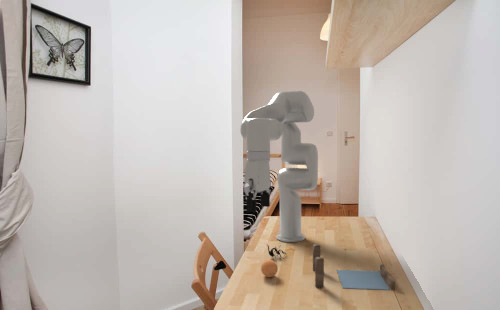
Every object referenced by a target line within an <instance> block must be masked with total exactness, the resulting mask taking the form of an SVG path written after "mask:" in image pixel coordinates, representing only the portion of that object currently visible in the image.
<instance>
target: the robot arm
mask: <svg viewBox="0 0 500 310" xmlns="http://www.w3.org/2000/svg"><path fill="white" fill-rule="evenodd" d="M314 116H315V108H314V105H313V102H312V101H311V98H310V96H309V95H308V94H307V93H306V92H305V91H302V90H294V91H280V92H277V93H275V95H273V96H272V99H271V100H270V101H269V102H268V104H266V105H263V106H261V107H258V108H256V109H254V110H252V111H250V112H249V113H247V115H246V116H245V117H244V118H243V120H242V122H241V124H240V134H241V137H242V138H243V139H244V140H246V163H245V171H244V185H243V191H244V197H245V200H246V212H248V213H256V212H257V199H256V198H257V194H258V193H260V206H261V207H267V208H269V207H270V206H271V201H270V199H271V198H270V197H271V196H270V195H271V189H272V187H271V186H272V179H271V169H270V162H271V142H272V141H276V140H279V139H280V138H281V144H280V145H281V149H280V153H281V155H280V157H281V162H282V163H283V164H285V165H290V166H291V165H292V166H294V165H295V166H305V167H284V168H281V169H280V170H278V171H277V175H276V177H277V178H276V179H277V185H278V192H279V232H278V233H277V234H276V239H277V240H279V241H280V242H284V243H299V242H302V241H304V240H305V238H306V237H305V235H304V234H303V233H302V198H301V195H300V194H299V193H298V191H314V190H315V189H316V188H317V187H318V183H319V182H318V181H319V180H318V177H319V176H318V175H319V174H318V173H319V172H318V171H319V155H318V148H317V146H316V145H315V144H314V143H308V142H307V143H306V142H303V143H302V138H301V137H302V133H301V129H300V128H299V127H298V125H297V124H296V123H310V122H312V120H313V119H314ZM297 190H298V191H297Z"/></svg>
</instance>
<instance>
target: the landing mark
mask: <svg viewBox="0 0 500 310" xmlns="http://www.w3.org/2000/svg"><path fill="white" fill-rule="evenodd" d="M336 272H337V274H338V275H337V276H338V279H339V281H340V284H341V287H342V289H350V290H351V289H352V290H377V291H378V290H380V291H391V289H390V287H389V285H388V284H387V282H386V281H385V279H384V277H383V276H382V274H381V272H380V270H379V271H378V270H357V269H355V270H353V269H352V270H351V269H336Z"/></svg>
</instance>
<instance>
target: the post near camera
mask: <svg viewBox="0 0 500 310" xmlns="http://www.w3.org/2000/svg"><path fill="white" fill-rule="evenodd" d="M324 262H325V257H322V256H320V257H316V258H315V272H314V275H315V276H314V279H315V281H314V282H315V283H314V286H315V288H316V289H323V288H324V286H325V284H324V282H325V278H324V277H325V269H324V267H325V266H324V265H325V263H324Z"/></svg>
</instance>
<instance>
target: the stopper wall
mask: <svg viewBox="0 0 500 310" xmlns="http://www.w3.org/2000/svg"><path fill="white" fill-rule="evenodd" d="M379 266H380V267H379V273H380V274H381V276H382V278H383V279H384V281H385V283H386V284H387V286H388V287H389V289H390V291H395V290H396V282H395V280H394V278H393V277H392V276H391V273H390V272H388V269H387V268H386V267H385V265H384V264H379Z"/></svg>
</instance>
